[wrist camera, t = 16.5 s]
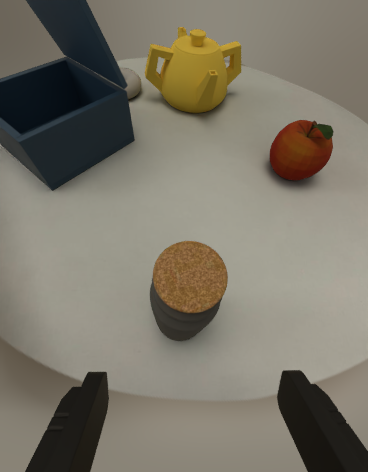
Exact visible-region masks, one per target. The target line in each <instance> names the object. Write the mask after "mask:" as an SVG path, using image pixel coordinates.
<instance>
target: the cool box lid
mask: <svg viewBox="0 0 368 472" xmlns="http://www.w3.org/2000/svg"><path fill="white" fill-rule="evenodd" d="M26 1H27V3H28V4H29V5H30V7H31V8H32V10H33V11H34V13H35V14H36V15H37V17H38V18H39V19H40V21H41V23H42V24H43V25H44V27H45V28H46V30H47V31H48V32H49V34H50V35H51V36H52V38H53V39H54V41H55V42H56V44H57V45H58V47H59V48H60V49H61V51H62V52H63V54H64V55H66V56H67V57H69V58H71V59H73V60H74V61H76V62H78V63H80V64H81V65H83V66H85V67H87V68H88V69H90V70H92V71H93V72H95V73H97V74H99V75H100V76H102V77H104V78H106V79H107V80H109V81H111V82H113V83H114V84H116V85H118V86H119V87H121V88H123V89H125V88H126V87H127V86H128V85H127V82H126V80H125V78H124V76H123V74H122V72H121V70H120V68H119V66H118V64H117V62H116V60H115V58H114V56H113V54H112V52H111V50H110V48H109V46H108V44H107V42H106V40H105V38H104V36H103V34H102V32H101V30H100V28H99V26H98V24H97V22H96V20H95V18H94V16H93V14H92V11H91V9H90V8H89V6H88V3H87V2H86V0H26Z"/></svg>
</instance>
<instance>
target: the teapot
mask: <svg viewBox="0 0 368 472" xmlns="http://www.w3.org/2000/svg"><path fill="white" fill-rule="evenodd" d="M205 36H206V32H204V31H203V30H199V29H195V30H191V31H190V36H187V33H186V29H185V28H184V27H179V28H178V39H177V40H175V42H174V43H173V45H172V46H171V48H167V47H163V46H158V45H154V44H151V45H150V50H149V55H148V59H147V64H146V69H145V76H146V78H147V79H148V80H149V81H150V82H151V83H152V84H153V85H154V86H155V87H156V88H157V89H158V90H159V91H160V92H161V93H162V95H163V97H164V98H165V99H166V101H167V102H168V103H169V104H170V105H171V106H173V107H174V108H176V109H178V110H181V111H184V112H190V113H201V112H206V111H209V110H212V109H213V108H215V107H216V106H217V105H218V104H220V103H221V102H222V101H223V99H224V98H225V96H226V92H227V86H228V85H229V84H230V83H231V82H232V81H233V80H234V79H235V78H236V77H237V76H238V75H239V74H240V73H241V45H240V44H239V43H238V42H237V41H235V42H232V43H229V44H226V45H222V46H219V45H218V44H217V42H215V41H214V40H212V39H210V38H207V37H205ZM229 55H230V65H229V66H228V67H227V68H226V65H225V62H224V58H225V57H227V56H229ZM158 57H161V58H164V59H165V60H164V63H163V66H162V69H161V74H159V73H158V72H157V71H156V69H157V63H158Z"/></svg>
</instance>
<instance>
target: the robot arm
mask: <svg viewBox="0 0 368 472" xmlns="http://www.w3.org/2000/svg"><path fill="white" fill-rule="evenodd" d="M277 399H278V405H279V409H280V411H281V414H282V416H283V418H284V421H285V423H286V425H287V427H288V429H289V432H290V434H291V436H292V438H293V440H294V442H295V444H296V447H297V449H298V451H299V453H300V455H301V458H302V460H303V462H304V464H305V467H306V469H307V471H308V472H368V451H367V450H366V448H365V447H364V445H363V444H362V443H361V441H360V440H359V438H358V437H357V435H356V434H355V433H354V431H353V430H352V429H351V427H350V426H349V424H347V423H346V420H345V419H344V417H343V416H342V414H341V413H340V412H338V409H337V407H336V406H335V405H334V403H333V402H332V400H331V399H330V397H329V396H328V395H327V394H326V393H325V392H324V391H322V390H321V389H320V388H319V387H318V386H317V385H316V384H310V382H309V381H308V379H307V378H306V376H305V375H304V373H303V372H302V371H300V370H286V371H283V372H282V375H281V380H280V385H279V390H278V395H277ZM108 400H109V397H108V382H107V373H106V372H88V373H87V375H86V377H85V379H84V382H83V384H82V387H72V388H71V390H70V391H69V392H68V393H67V394H66V395H65V396H64V397H63V398H62V399H61V401H60V404H59V405H58V407H57V409H56V411H55V414H54V417H53V418H52V419H51V421H50V423H49V425H48V428H47V430H46V431H45V433H44V435H43V437H42V439H41V441H40V443H39V445H38V447H37V449H36V451H35V453H34V455H33V457H32V459H31V461H30V463H29V465H28V467H27V469H26V471H25V472H90V470H91V466H92V463H93V460H94V456H95V453H96V449H97V446H98V442H99V439H100V435H101V431H102V427H103V424H104V420H105V417H106V414H107V408H108Z"/></svg>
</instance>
